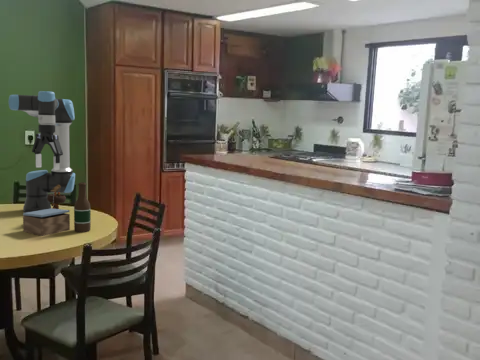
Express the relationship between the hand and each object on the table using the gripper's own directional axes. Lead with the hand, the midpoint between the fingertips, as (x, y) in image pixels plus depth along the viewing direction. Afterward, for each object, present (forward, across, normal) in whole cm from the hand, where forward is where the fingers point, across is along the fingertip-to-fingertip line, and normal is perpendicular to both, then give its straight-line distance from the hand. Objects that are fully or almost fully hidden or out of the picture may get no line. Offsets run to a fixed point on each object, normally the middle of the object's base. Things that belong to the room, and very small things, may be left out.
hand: (47, 168), depth 240 cm
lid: (+22, -1, 0) cm, 22 cm away
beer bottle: (+31, +11, +11) cm, 35 cm away
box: (+31, -1, 0) cm, 31 cm away
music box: (+31, -14, +15) cm, 37 cm away
